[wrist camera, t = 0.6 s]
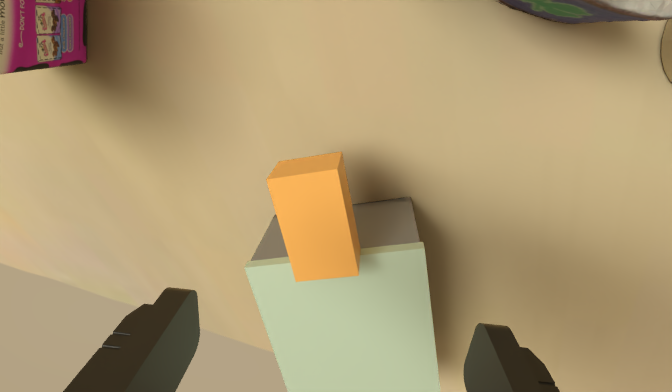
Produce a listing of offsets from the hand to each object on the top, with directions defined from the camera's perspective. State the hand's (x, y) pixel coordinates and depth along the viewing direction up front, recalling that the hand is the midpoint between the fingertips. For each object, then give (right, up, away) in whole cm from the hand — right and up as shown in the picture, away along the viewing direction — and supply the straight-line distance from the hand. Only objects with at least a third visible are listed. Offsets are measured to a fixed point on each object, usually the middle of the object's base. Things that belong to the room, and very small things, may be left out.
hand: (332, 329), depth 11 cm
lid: (+1, -4, +18) cm, 18 cm away
